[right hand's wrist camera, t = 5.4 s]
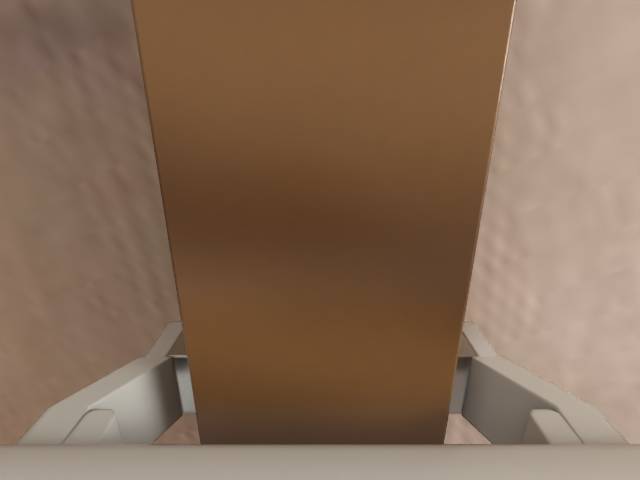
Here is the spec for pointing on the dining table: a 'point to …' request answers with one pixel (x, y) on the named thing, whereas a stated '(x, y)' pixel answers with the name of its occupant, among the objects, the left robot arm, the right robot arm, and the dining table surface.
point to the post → (323, 205)
